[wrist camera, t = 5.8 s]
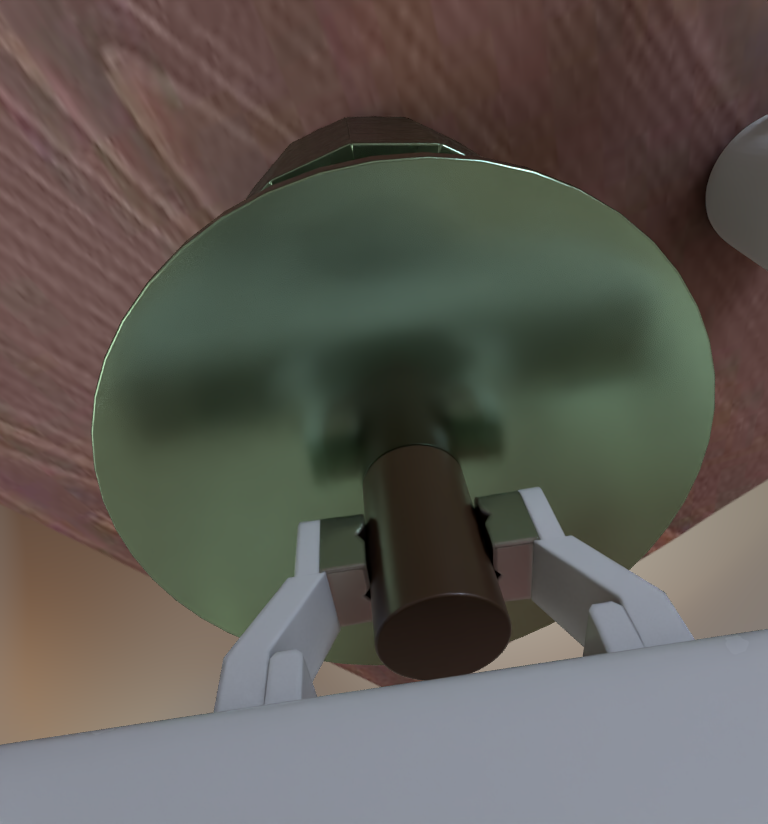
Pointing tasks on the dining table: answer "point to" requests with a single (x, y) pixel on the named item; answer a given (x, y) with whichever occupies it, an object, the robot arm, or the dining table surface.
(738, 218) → the cup
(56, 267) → the dining table surface
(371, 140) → the tin
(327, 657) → the tin lid
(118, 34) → the dining table surface
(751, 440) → the dining table surface
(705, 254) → the dining table surface
